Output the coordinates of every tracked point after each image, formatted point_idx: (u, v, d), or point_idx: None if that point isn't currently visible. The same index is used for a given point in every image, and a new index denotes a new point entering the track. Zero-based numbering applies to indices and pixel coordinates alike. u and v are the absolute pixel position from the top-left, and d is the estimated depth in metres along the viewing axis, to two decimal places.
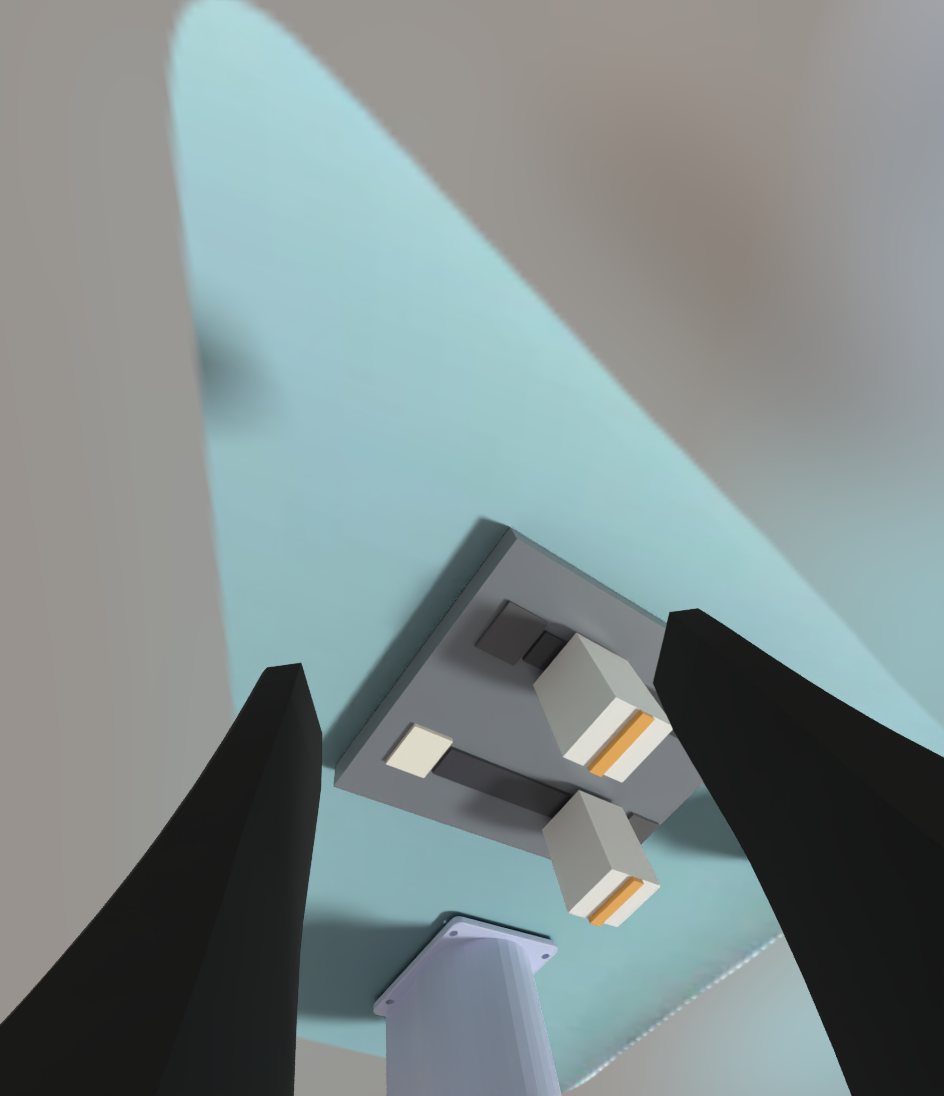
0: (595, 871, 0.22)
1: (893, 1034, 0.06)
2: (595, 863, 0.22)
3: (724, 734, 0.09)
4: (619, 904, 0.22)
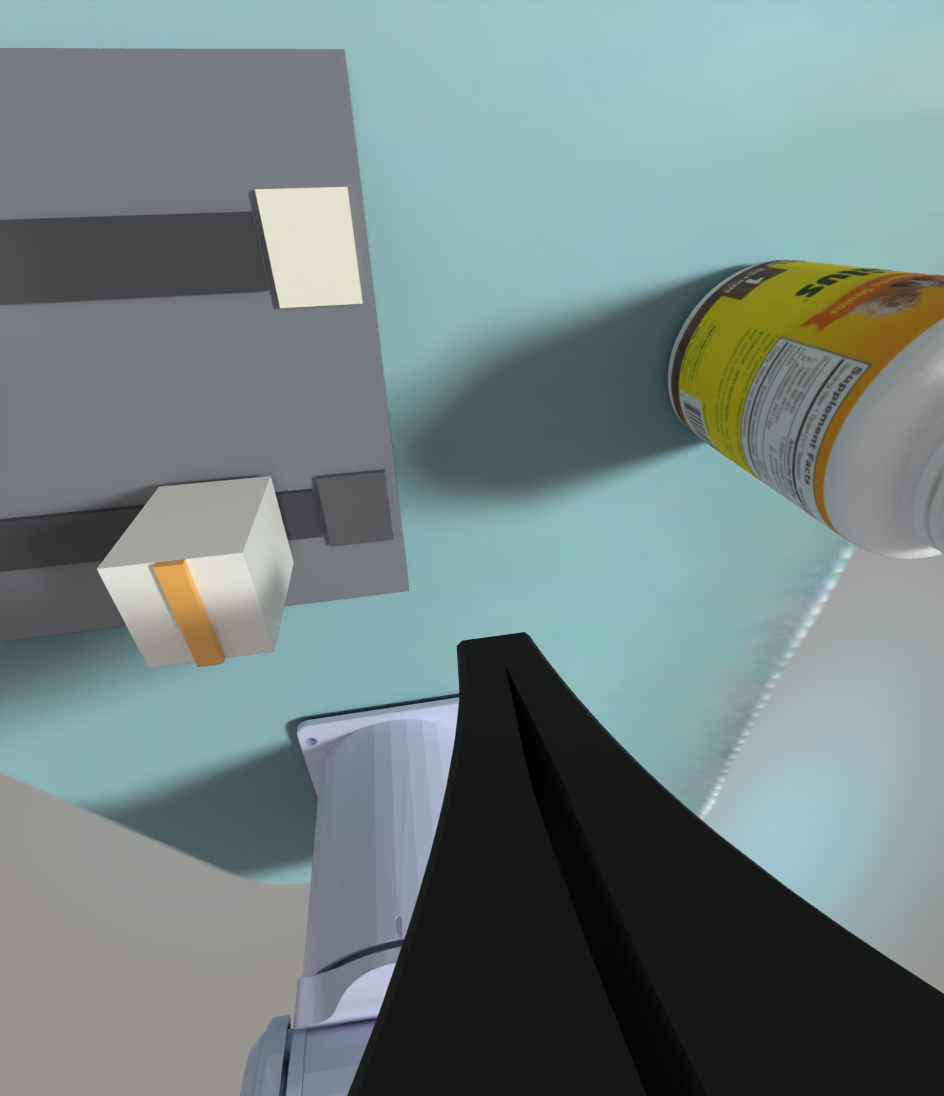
0: None
1: None
2: None
3: None
4: (198, 617, 0.12)
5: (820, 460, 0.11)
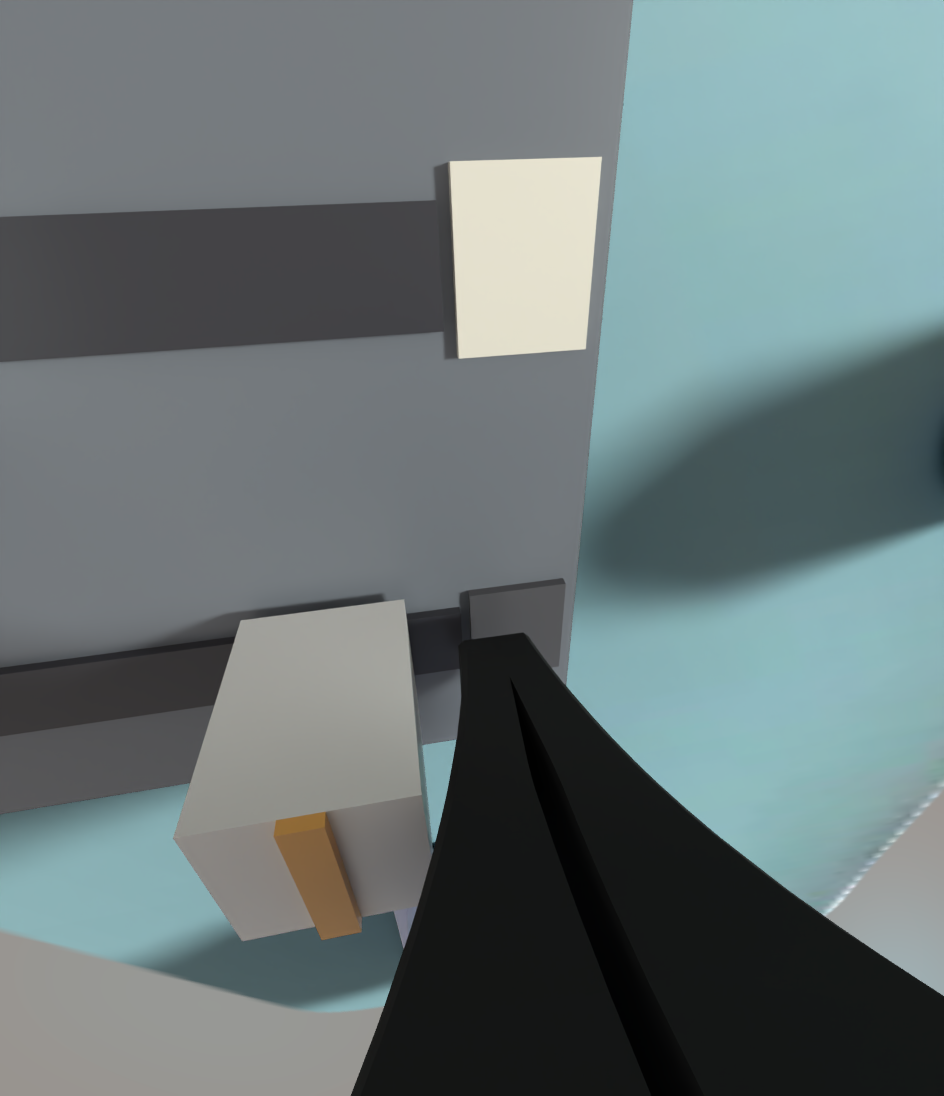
0: None
1: None
2: None
3: None
4: (335, 887, 0.07)
5: None
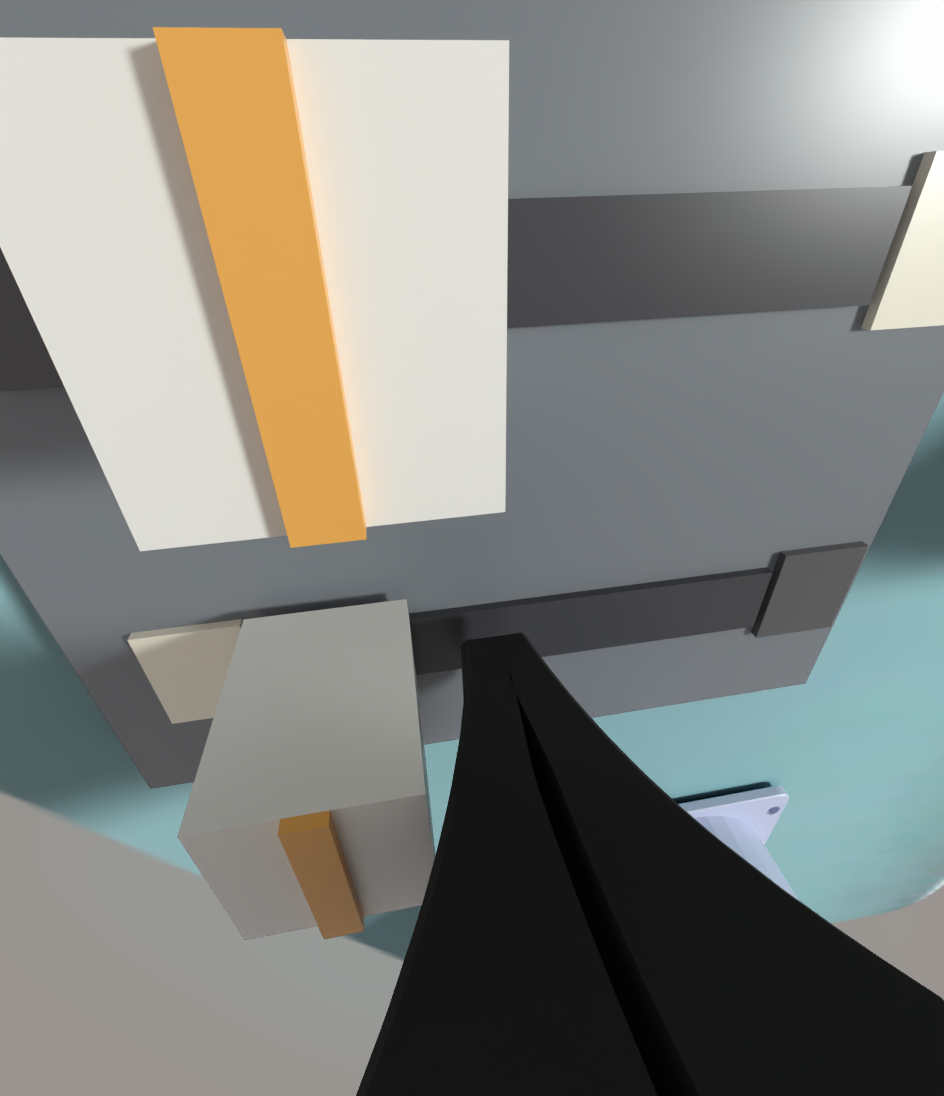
0: None
1: None
2: None
3: None
4: (339, 886, 0.07)
5: None
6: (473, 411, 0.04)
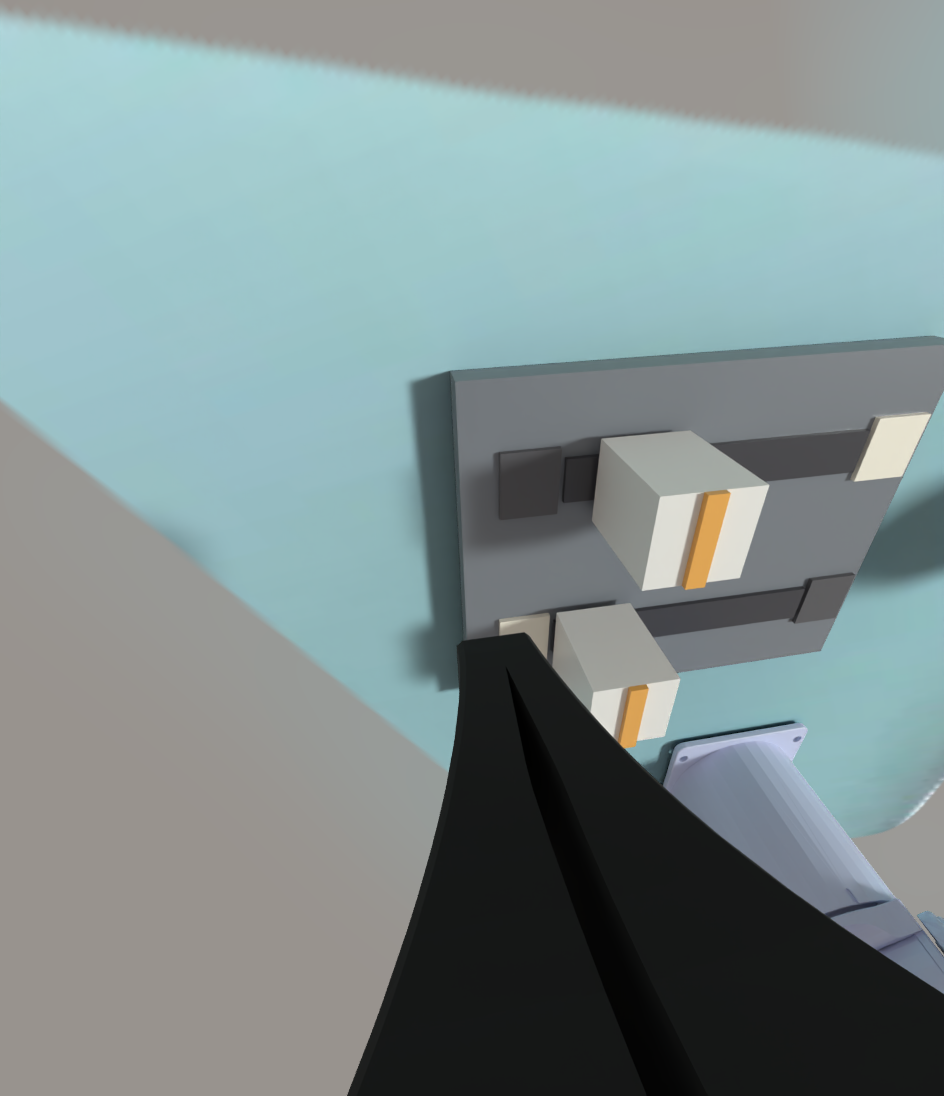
0: (586, 699, 0.18)
1: None
2: (584, 690, 0.18)
3: None
4: (638, 719, 0.18)
5: None
6: (739, 552, 0.15)
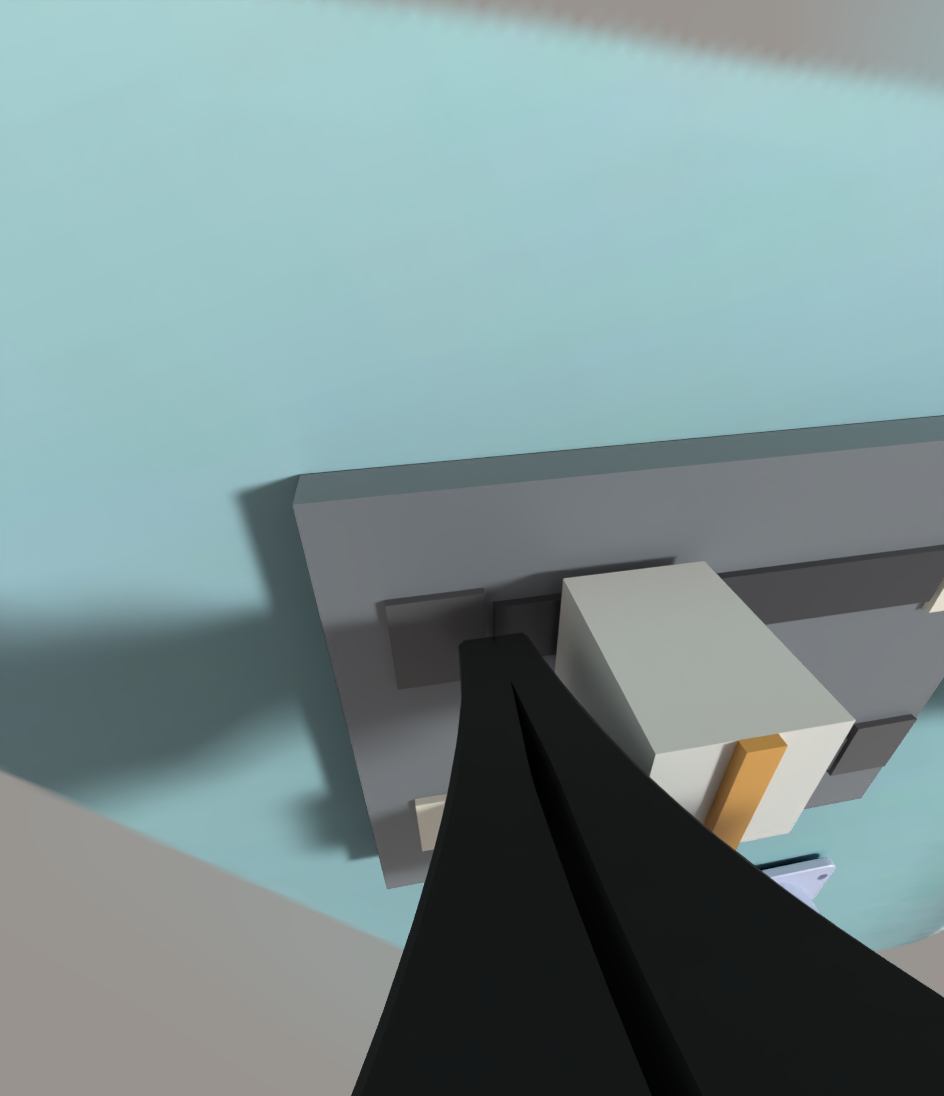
0: None
1: None
2: None
3: None
4: None
5: None
6: (792, 805, 0.08)
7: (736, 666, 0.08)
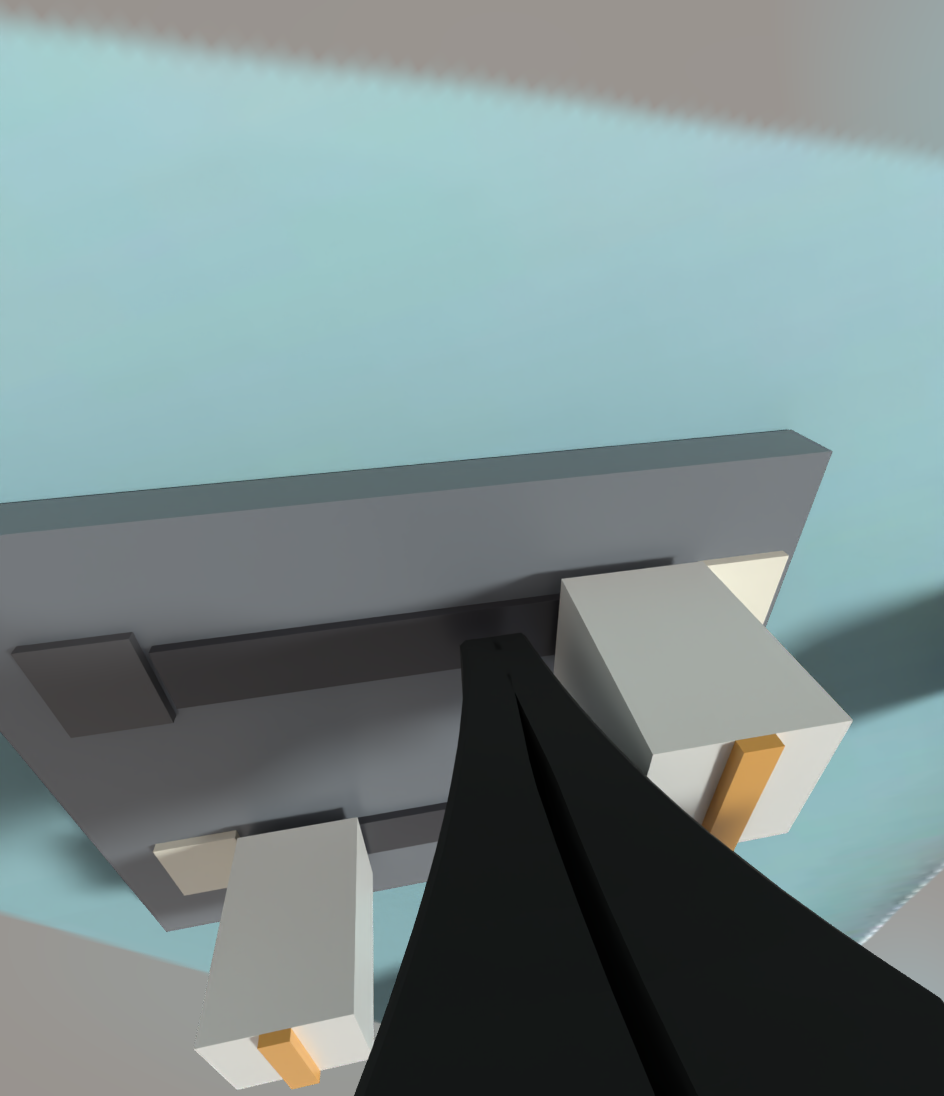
0: None
1: None
2: None
3: None
4: (299, 1064, 0.11)
5: None
6: (790, 805, 0.08)
7: (734, 666, 0.08)
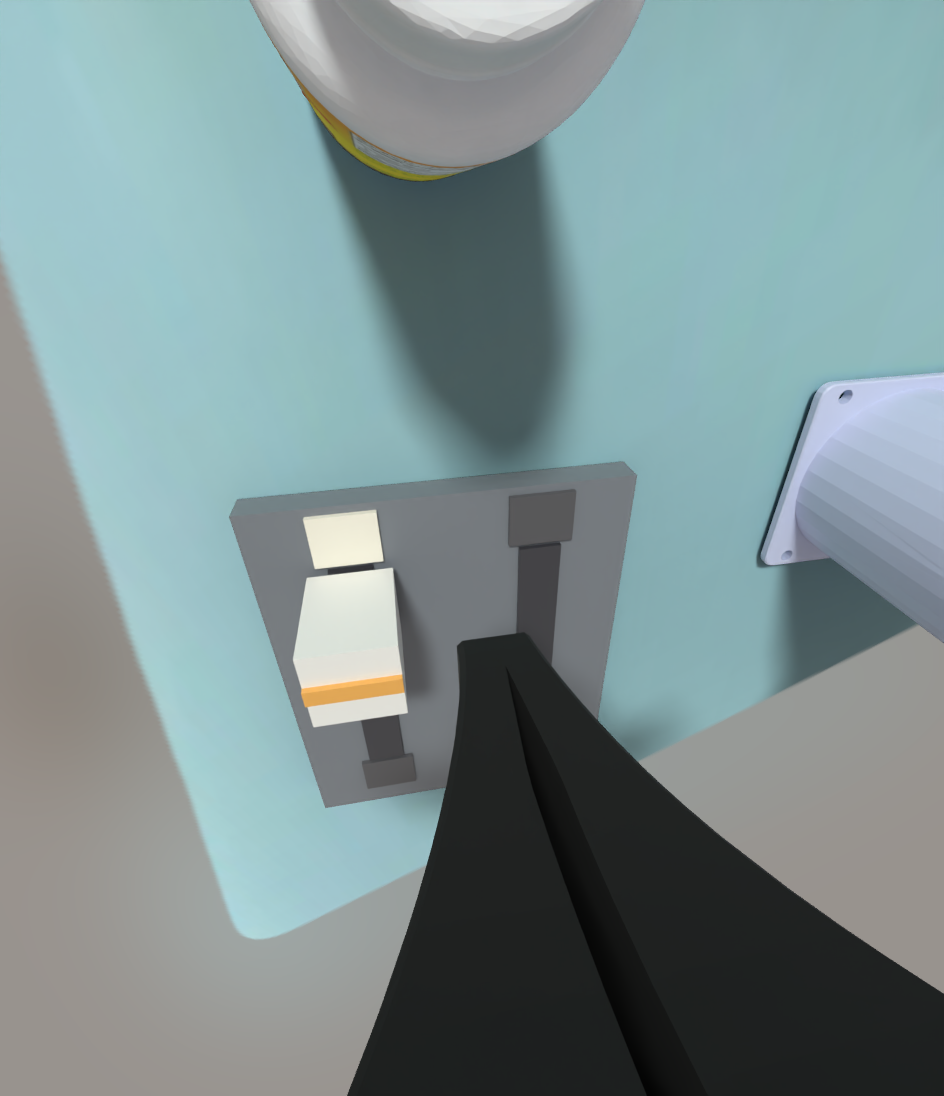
0: None
1: None
2: None
3: None
4: None
5: (477, 165, 0.08)
6: (367, 656, 0.15)
7: None
